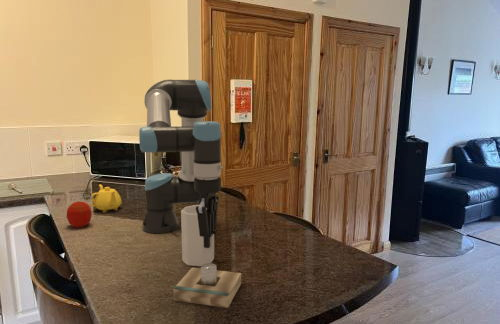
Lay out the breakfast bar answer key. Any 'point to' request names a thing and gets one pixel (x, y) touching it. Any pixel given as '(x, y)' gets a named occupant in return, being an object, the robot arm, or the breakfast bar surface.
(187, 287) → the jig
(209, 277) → the grey metal cylinder
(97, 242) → the breakfast bar surface
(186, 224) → the cup
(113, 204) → the teapot
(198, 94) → the robot arm
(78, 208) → the apple
